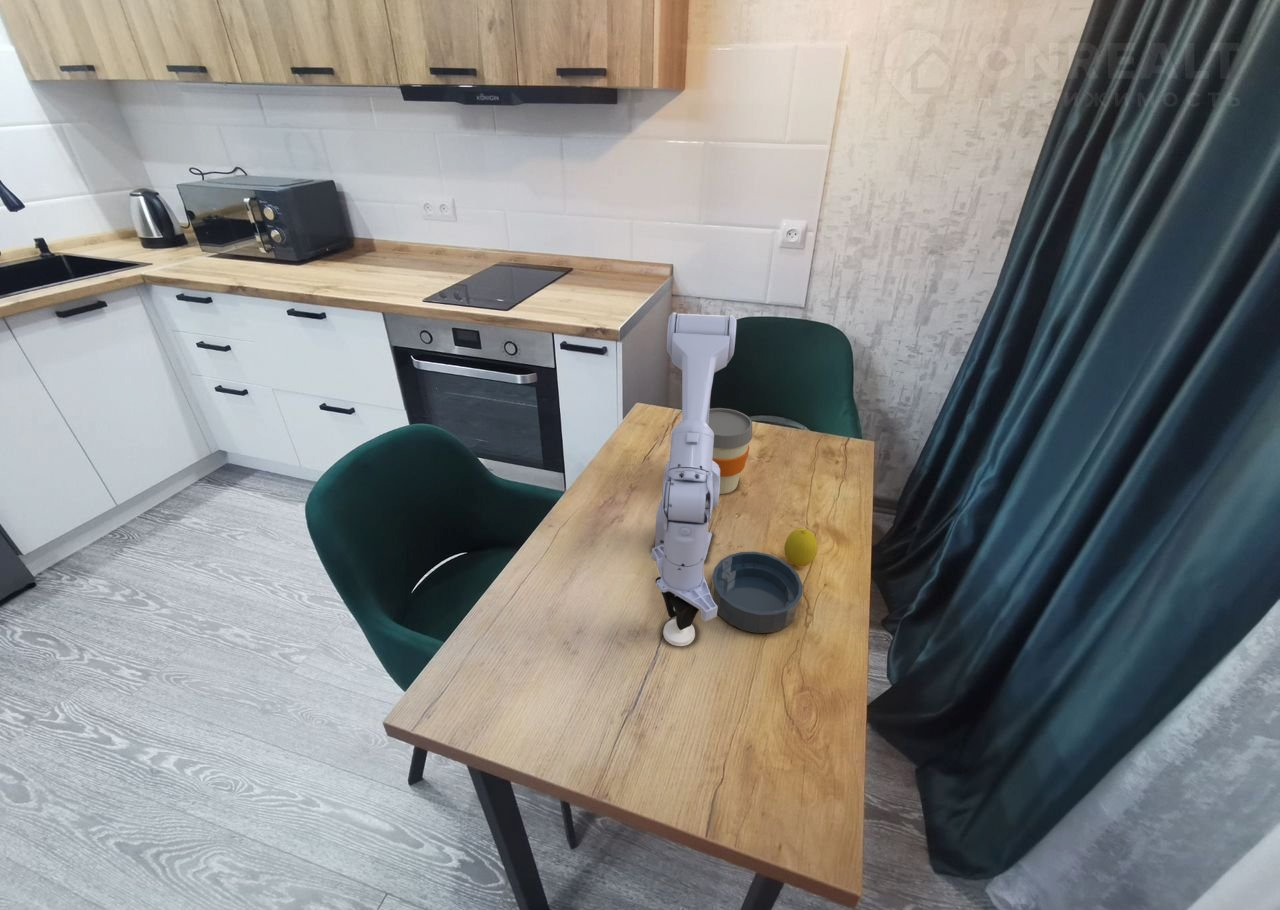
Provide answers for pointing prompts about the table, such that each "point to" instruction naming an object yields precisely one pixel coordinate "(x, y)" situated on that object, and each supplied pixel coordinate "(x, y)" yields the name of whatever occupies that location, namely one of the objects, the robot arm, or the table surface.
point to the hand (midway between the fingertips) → (679, 620)
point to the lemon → (801, 547)
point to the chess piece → (678, 633)
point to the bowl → (756, 592)
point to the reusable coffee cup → (730, 444)
